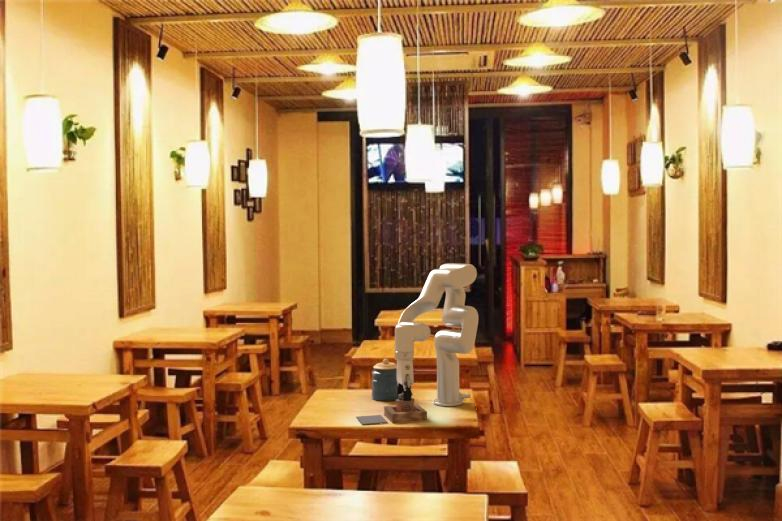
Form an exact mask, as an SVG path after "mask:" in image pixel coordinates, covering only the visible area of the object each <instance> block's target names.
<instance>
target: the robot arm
mask: <svg viewBox="0 0 782 521" xmlns="http://www.w3.org/2000/svg"><path fill="white" fill-rule="evenodd" d="M477 275H478V272H477V268H476V267H475V266H474V265H473V264H470V263H457V262H456V263H453V262H452V263H451V262H450V263H449V262H447V263H442V264H441V265H440V267H439V268H433V270H431V271H430V272H429V274H428V275H427V278H426V280H425V283H424V285H423V288H422V290H421V292H420V293H419V294H420V295H419V296H418V298H417V299H416V300H415V301H413V302H412V303H411V304H409V305H408V306H407V307H406V308H405V309H404V310H403V311H402V313H401V315H400V317H399V318H398V322H397V324H396V326H395V327H394V360H395V361H396V365H397V370H396V377H397V396H399V394H402V393H403V401H411V398H412V396H411V392H412V390H413V389H412V386H413V385H414V382H415V380H414V379H415V378H414V364H413V361H414V359H415V351H414V350H415V344H414V343H415V342H419V343H420V342H421V343H422V342H425V341H427V340H428V339H429V338H430V336H431V328H430V326H429V325H427V324H426V323H424V322H415V321H414V320H416V318H418V317H419V316H421V315H423V314H425V313H427V312H430V311H433V310H435V309H436V308H438V306H439V304H440V301H441V299H442V297H443V294H444V293H445V299H444V304H443V311H442V316H441V321H442V323H443V325H445V326H446V327H449V328H457V329H461V330H455V329H441V330H439V331H437V332H436V333H435V335H434V339H433V340H434V341H433V343H434V349H435V355H436V398H434V400H433V404H434V405H435V406H439V407H457V406H462V405H463V404H464V399H470V398H471V394H470V393H462V392H461V391H460V361H459V358H458V356H457V354H460V355H467V354H470V353H471V352H472V351H473V350H474V347H475V344H476V343H475V342H476V336H477V331H478V325H479V313H478V311H477V309H476V308H475V307H474V306H470V305H465V304H466V303H465V302H466V297H467V295H466V291H465V289H464V288H465V287H467V286H469V285H472V284H473V283H474V282H475V280H476V278H477Z"/></svg>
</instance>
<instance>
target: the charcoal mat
mask: <svg viewBox="0 0 782 521" xmlns="http://www.w3.org/2000/svg"><path fill="white" fill-rule="evenodd" d="M356 418H357V419H358V420H357V421H358V422H359V423H360V424H361V425H362V426H365V425H364V424H373V425H381V424H380V423H387V424H388V421H387V420H386V419H385V418H384V417H383V415H381V414H375V415H373V414H372V415H362V416H360V415H359V416H356V417H355V419H356Z"/></svg>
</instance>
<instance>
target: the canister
mask: <svg viewBox="0 0 782 521" xmlns="http://www.w3.org/2000/svg"><path fill="white" fill-rule="evenodd" d="M372 368H373V370H372V371H371V374H372V378H371V398H372V400H373V401H380V402H391V401H396V400H397V399H399V396H397V377H396V370H397V363H395V362H391V361H389V359H388V358H383V360H382V362H377V363H376V364H375V365H373V366H372Z"/></svg>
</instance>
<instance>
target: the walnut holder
mask: <svg viewBox="0 0 782 521" xmlns="http://www.w3.org/2000/svg"><path fill="white" fill-rule="evenodd" d="M383 408H384V409H383V415H384V416H385V417H386V418H387V420H389V421H390V423H392V424H397V423H398V424H399V422H400V423H412V422H411V421H414V422H422V421H421V420H427V421H428V411H427V410H425V408H423V407H422V406H421V405H419V403H414V411H411V412H396V405H387V406H383Z"/></svg>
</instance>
